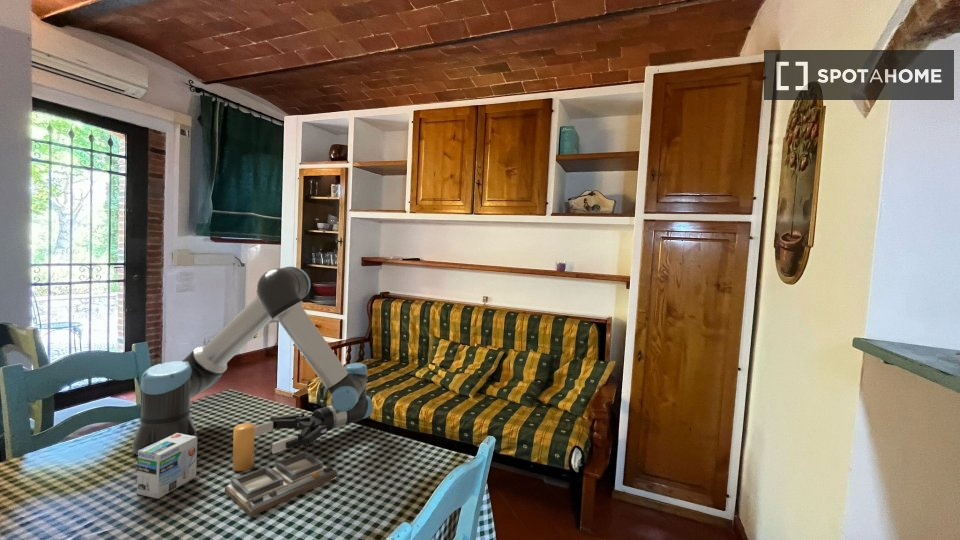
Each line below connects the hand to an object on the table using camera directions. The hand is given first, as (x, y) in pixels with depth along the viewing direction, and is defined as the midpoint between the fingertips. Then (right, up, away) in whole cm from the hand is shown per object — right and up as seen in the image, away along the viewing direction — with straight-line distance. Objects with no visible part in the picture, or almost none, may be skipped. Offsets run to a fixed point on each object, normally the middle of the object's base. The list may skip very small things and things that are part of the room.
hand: (260, 440), depth 116 cm
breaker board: (+11, -7, -10) cm, 17 cm away
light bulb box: (-16, -6, -13) cm, 22 cm away
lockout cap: (-3, -6, -3) cm, 7 cm away
